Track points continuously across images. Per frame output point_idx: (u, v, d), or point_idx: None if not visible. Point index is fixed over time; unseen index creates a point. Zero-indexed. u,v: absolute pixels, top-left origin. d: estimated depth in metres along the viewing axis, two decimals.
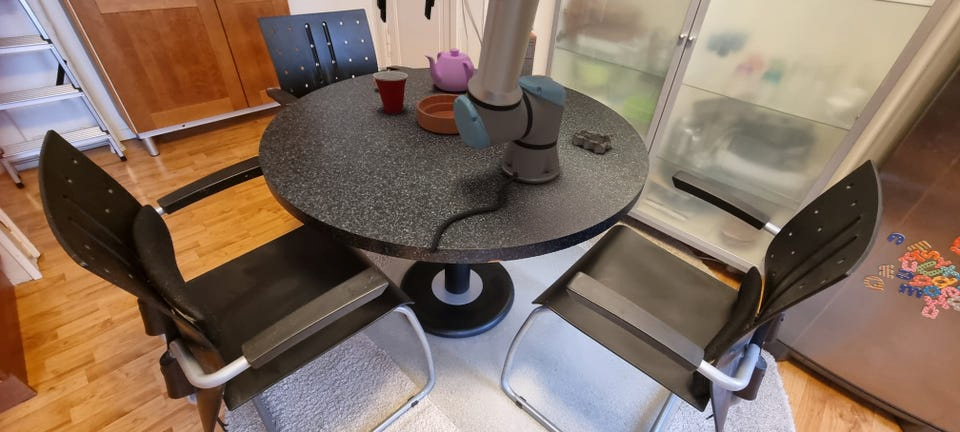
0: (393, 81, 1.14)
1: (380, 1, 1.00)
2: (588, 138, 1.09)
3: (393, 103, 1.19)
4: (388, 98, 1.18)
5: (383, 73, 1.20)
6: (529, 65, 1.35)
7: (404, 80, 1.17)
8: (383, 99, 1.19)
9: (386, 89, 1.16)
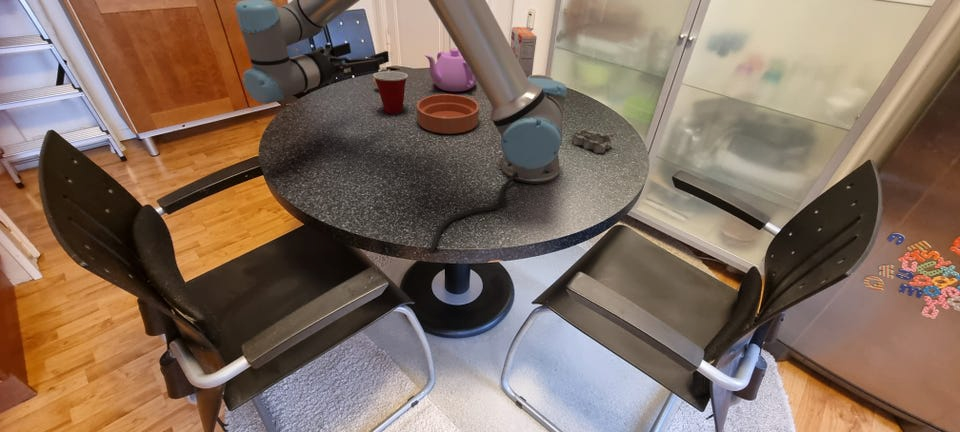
0: (393, 81, 1.14)
1: (377, 58, 0.98)
2: (588, 138, 1.09)
3: (393, 103, 1.19)
4: (388, 98, 1.18)
5: (383, 73, 1.20)
6: (529, 65, 1.35)
7: (404, 80, 1.17)
8: (383, 99, 1.19)
9: (386, 89, 1.16)
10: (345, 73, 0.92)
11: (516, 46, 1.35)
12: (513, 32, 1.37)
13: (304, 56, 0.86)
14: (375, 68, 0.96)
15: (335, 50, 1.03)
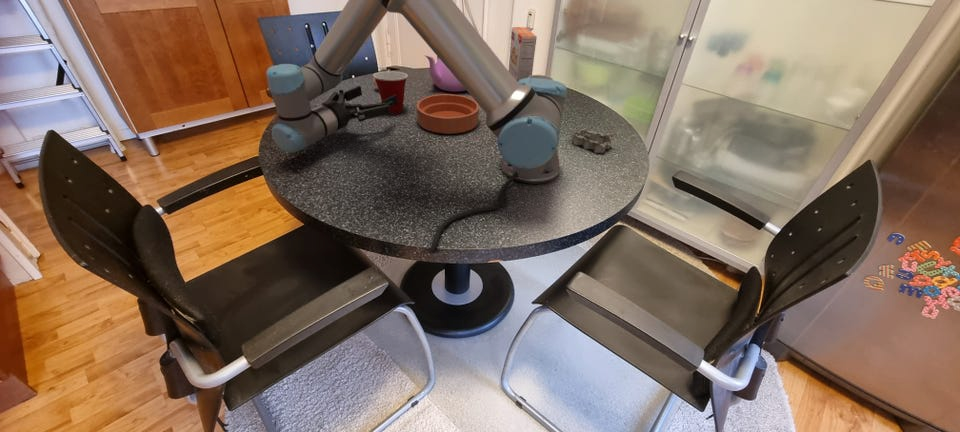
0: (393, 81, 1.14)
1: (387, 103, 1.08)
2: (588, 138, 1.09)
3: None
4: None
5: (383, 73, 1.20)
6: (529, 65, 1.35)
7: (404, 80, 1.17)
8: (383, 99, 1.19)
9: (386, 89, 1.16)
10: (360, 119, 1.01)
11: (516, 46, 1.35)
12: (513, 32, 1.37)
13: (323, 107, 0.96)
14: (386, 112, 1.06)
15: (348, 94, 1.12)
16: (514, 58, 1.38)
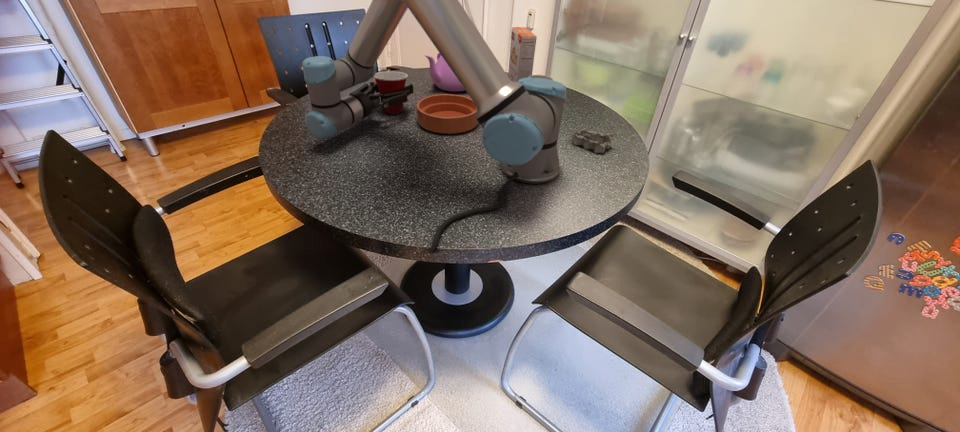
0: (393, 81, 1.14)
1: (404, 91, 1.17)
2: (588, 138, 1.09)
3: None
4: None
5: (383, 73, 1.20)
6: (529, 65, 1.35)
7: (404, 80, 1.17)
8: None
9: (386, 89, 1.16)
10: (385, 108, 1.10)
11: (516, 46, 1.35)
12: (513, 32, 1.37)
13: (351, 97, 1.04)
14: (404, 100, 1.15)
15: None
16: (514, 58, 1.38)
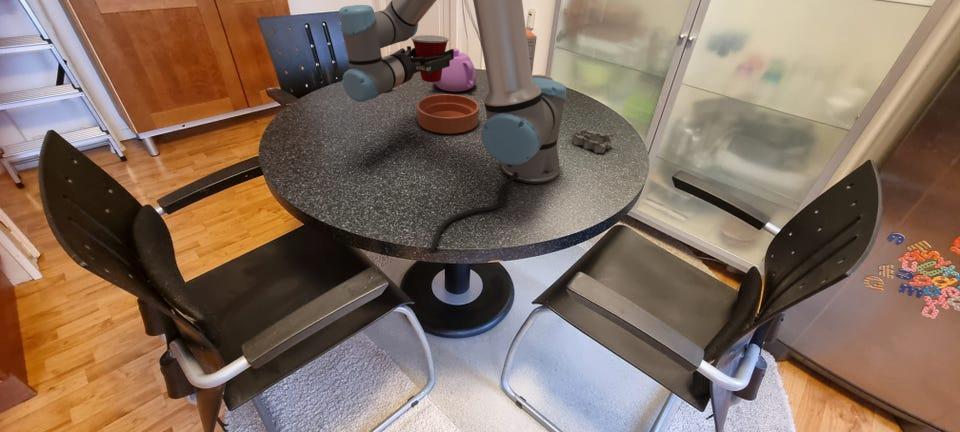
0: (434, 43, 1.02)
1: (446, 56, 1.05)
2: (588, 138, 1.09)
3: None
4: None
5: (421, 37, 1.09)
6: None
7: (445, 43, 1.05)
8: None
9: (425, 53, 1.04)
10: (427, 71, 0.98)
11: None
12: None
13: (391, 57, 0.92)
14: (447, 65, 1.03)
15: None
16: None
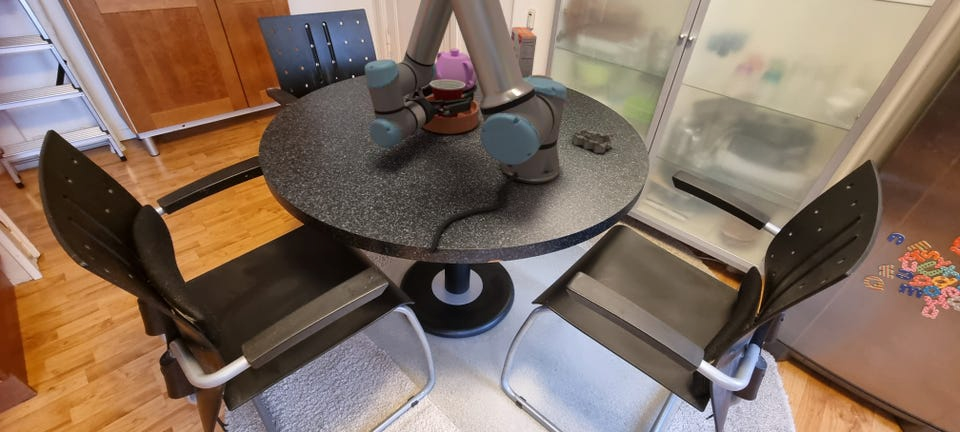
0: (452, 90, 1.08)
1: (467, 99, 1.09)
2: (588, 138, 1.09)
3: None
4: None
5: (438, 81, 1.15)
6: (529, 65, 1.35)
7: (462, 89, 1.11)
8: None
9: (443, 98, 1.10)
10: (445, 115, 1.02)
11: (516, 46, 1.35)
12: (513, 32, 1.37)
13: (413, 103, 0.97)
14: (467, 108, 1.07)
15: (426, 91, 1.14)
16: None
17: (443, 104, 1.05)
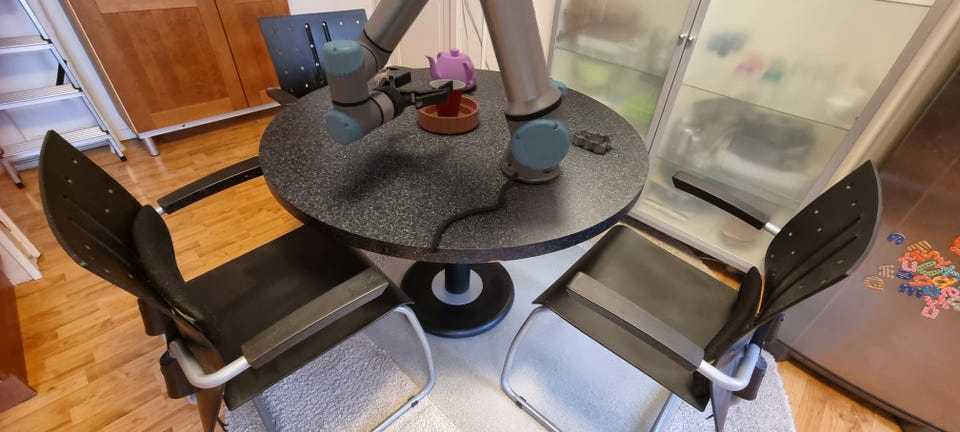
0: None
1: (444, 89, 0.95)
2: (588, 138, 1.09)
3: (449, 113, 1.14)
4: (445, 108, 1.12)
5: (438, 81, 1.15)
6: None
7: (462, 89, 1.11)
8: (439, 109, 1.13)
9: None
10: (417, 107, 0.89)
11: None
12: None
13: (379, 92, 0.84)
14: (444, 100, 0.93)
15: (399, 80, 1.00)
16: None
17: (416, 95, 0.92)
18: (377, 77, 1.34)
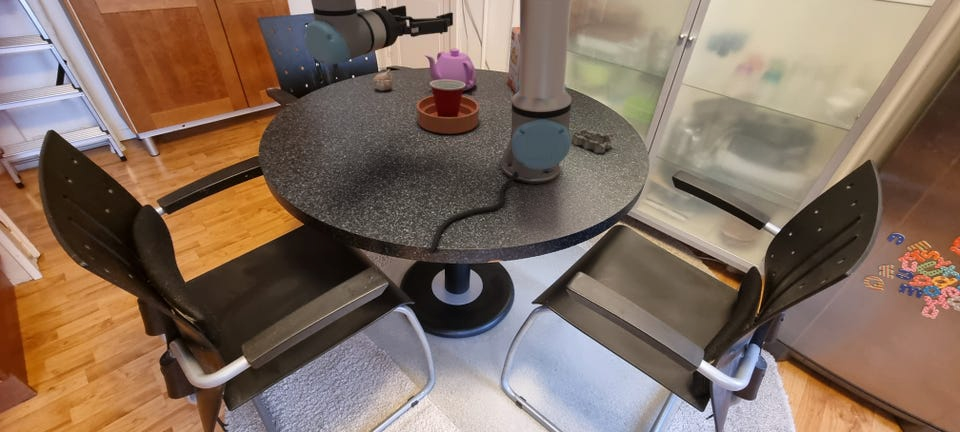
0: (452, 90, 1.08)
1: None
2: (588, 138, 1.09)
3: (449, 113, 1.14)
4: (445, 108, 1.12)
5: (438, 81, 1.15)
6: None
7: (462, 89, 1.11)
8: (439, 109, 1.13)
9: (443, 98, 1.10)
10: (412, 33, 0.79)
11: (516, 46, 1.35)
12: (513, 32, 1.37)
13: (369, 11, 0.74)
14: (443, 29, 0.83)
15: (392, 12, 0.90)
16: (514, 58, 1.38)
17: (411, 22, 0.81)
18: (377, 77, 1.34)
